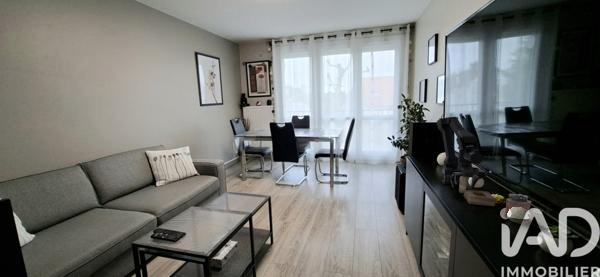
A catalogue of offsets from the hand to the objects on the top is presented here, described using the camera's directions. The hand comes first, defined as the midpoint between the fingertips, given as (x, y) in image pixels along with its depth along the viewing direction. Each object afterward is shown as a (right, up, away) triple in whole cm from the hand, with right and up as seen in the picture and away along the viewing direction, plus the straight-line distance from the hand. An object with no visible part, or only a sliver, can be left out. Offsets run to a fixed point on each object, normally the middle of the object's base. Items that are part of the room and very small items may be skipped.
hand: (462, 188), depth 133 cm
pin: (0, -2, 0) cm, 2 cm away
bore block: (0, -4, -11) cm, 12 cm away
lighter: (+4, -7, -28) cm, 29 cm away
